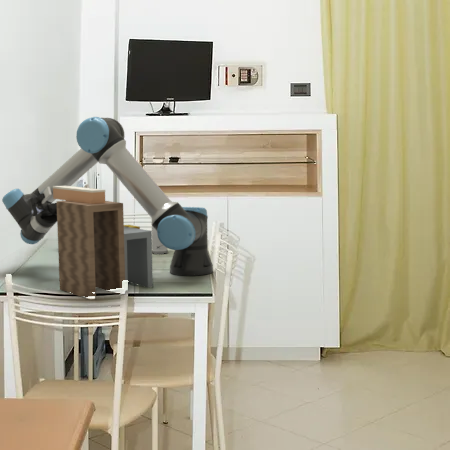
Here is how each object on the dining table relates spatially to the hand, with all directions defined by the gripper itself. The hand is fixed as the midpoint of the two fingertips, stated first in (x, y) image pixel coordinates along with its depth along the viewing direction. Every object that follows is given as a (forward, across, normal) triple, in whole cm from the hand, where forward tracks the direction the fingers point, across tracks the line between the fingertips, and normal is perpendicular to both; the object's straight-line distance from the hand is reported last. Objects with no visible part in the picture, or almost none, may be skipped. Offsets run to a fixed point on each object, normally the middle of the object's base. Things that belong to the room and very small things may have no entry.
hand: (69, 189), depth 241 cm
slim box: (+3, 0, -6) cm, 7 cm away
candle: (-64, -53, 0) cm, 83 cm away
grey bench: (-7, -13, -32) cm, 35 cm away
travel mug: (-48, -58, -9) cm, 76 cm away
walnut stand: (-5, 0, -34) cm, 34 cm away
